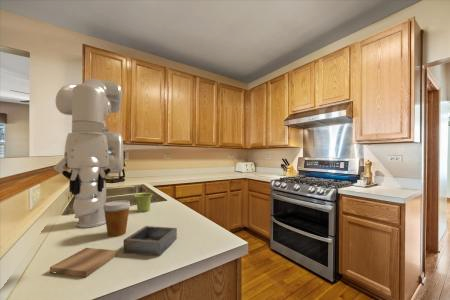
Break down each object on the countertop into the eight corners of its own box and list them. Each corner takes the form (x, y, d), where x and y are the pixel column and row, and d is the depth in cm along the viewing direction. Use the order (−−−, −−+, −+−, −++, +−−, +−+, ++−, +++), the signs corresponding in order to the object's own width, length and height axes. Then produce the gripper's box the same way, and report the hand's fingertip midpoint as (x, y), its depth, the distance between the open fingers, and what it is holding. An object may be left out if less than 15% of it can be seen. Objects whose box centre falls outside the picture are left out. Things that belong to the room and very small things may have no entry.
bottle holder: (123, 252, 62) (123, 239, 62) (145, 236, 74) (145, 226, 74) (160, 256, 60) (160, 242, 60) (176, 239, 72) (176, 227, 72)
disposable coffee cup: (135, 230, 80) (135, 201, 81) (115, 240, 71) (116, 206, 72) (117, 227, 83) (118, 199, 84) (96, 236, 74) (96, 204, 75)
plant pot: (130, 212, 105) (130, 196, 106) (140, 208, 115) (141, 193, 115) (146, 213, 104) (146, 197, 104) (155, 208, 113) (155, 193, 113)
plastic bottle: (76, 220, 52) (77, 143, 52) (70, 215, 56) (71, 144, 57) (103, 214, 56) (104, 144, 57) (96, 210, 61) (97, 145, 62)
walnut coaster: (49, 273, 52) (49, 267, 52) (86, 252, 62) (86, 247, 62) (86, 277, 50) (86, 271, 50) (117, 255, 61) (117, 250, 61)
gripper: (114, 133, 66) (113, 187, 65) (46, 127, 53) (44, 195, 52) (124, 131, 61) (123, 190, 61) (52, 124, 48) (50, 199, 47)
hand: (87, 192), depth 56 cm, fingers closed on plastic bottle, 5 cm apart
